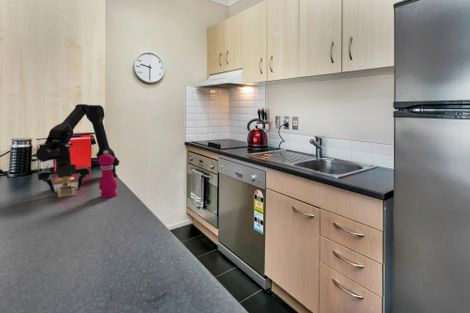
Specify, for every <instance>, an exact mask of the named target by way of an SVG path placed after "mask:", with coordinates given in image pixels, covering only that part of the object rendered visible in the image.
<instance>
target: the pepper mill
mask: <svg viewBox="0 0 470 313" xmlns="http://www.w3.org/2000/svg"><path fill="white" fill-rule="evenodd" d="M103 153H104V154H103V155H101V156H100V157H99V159H98V160H97V161H98V163H99V167H100V168H99V169H100V170H101V178H100V181H99V182H98V183H99V185H98V189H99V190H100V191H101V192H100V197H101V198H103V199H110V198H114V197H117V195H118V194H117V193H118V192H117V188H118V182H117V180H116V178H115V177H114V176H113V172H112V169H113V165H112V164H113V162H114V158H113V156H112V155H110V154H108V151H106V150H105V151H104V152H103ZM100 164H101V166H100Z"/></svg>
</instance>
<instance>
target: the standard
mask: <svg viewBox="0 0 470 313" xmlns="http://www.w3.org/2000/svg"><path fill="white" fill-rule="evenodd" d="M75 179H76V177H75V176H73V175H72V176H71V177H63V178H59V177H55V178H54V181H55V182H56V183H59V184H53V186H54V190H55V193H57V187H61V186H68V185H74V186H75V190H78V181H76V182H72V181H75Z"/></svg>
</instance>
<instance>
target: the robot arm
mask: <svg viewBox="0 0 470 313" xmlns="http://www.w3.org/2000/svg"><path fill="white" fill-rule="evenodd" d="M105 115H106V114H105V108H104V107H103V106H102V105H100V104H85V103H79V104H76V105H75V106H74V108H73V110H72V111H71V112H70V113H69V114H68V116H67V117H65V119H64V120H63V121H62V122H61V123H58V124H56V125H55V126H53V127H52V128H51V129H50V131H49V133H48V135H47V138H46V139H45V142H44V143H43V144H42V143H41V144H39V147H38V148H37V149H36V152H35V155H36V158H37V159H38V161H40V162H42V163H43V162H44V163H45V162H48V161H52V160H55V171H50V170H48V169H47V170H40V171H39V172H38V173H37V177H38V178H37V179H38V180H39V181H42V182H43V183H44V182H45V183H46V184H47V185H48V187H49V188H50V189H51V191H52V193H53V195H54V194H56V192H55V190H54V186H53V185H54V182H53V180H52V177H57V178H63V177H71V176H73V175H77V183H78V189H77V191H80V188H81V184H82V182H83V179H84V178H85V177H87V176H88V175H90V168H89V167H88V166H78V168H77V165H76V163H74V164H72V159H71V150H70V147H71V146H74V144H73V143H72V142H71V138H72V137H73V135H74V129H75V128H76V127H77V126H78V124H79V123H80V122H81V120H82V119H83V118H84V116H86V119H87V120H88V121H89V122H91V124H92V128H93V132H94V135H95V139H96V143H97V146H98V151H97V152H96V153H95V156H96V159H97V161H98V159H99V157H100V156H101V155H103V154H104V153H103V152H104V151H105V150H106V151H108V154H110V155H112V156H113V158H114V162H113V164H112V165H113V169H112V172H113V176H114V178H115V177H118V174H117V170H116V167H117V166H119V165H120V159H118V158H117V156H116V155H115V151H114V150H113V149H112V148H111V147H110V145H109V141H108V137H107V133H106V130H105V126H104V119H105ZM100 166H101V164H99V167H100Z"/></svg>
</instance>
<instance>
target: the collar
mask: <svg viewBox="0 0 470 313" xmlns="http://www.w3.org/2000/svg"><path fill="white" fill-rule="evenodd" d="M76 192H77V191H76V189H75V186H74V185H68V186H61V187H57V192H56V193H57V198H62V197H63V198H65V197H70V196H71V197H72V196H76V195H77V194H76Z"/></svg>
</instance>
